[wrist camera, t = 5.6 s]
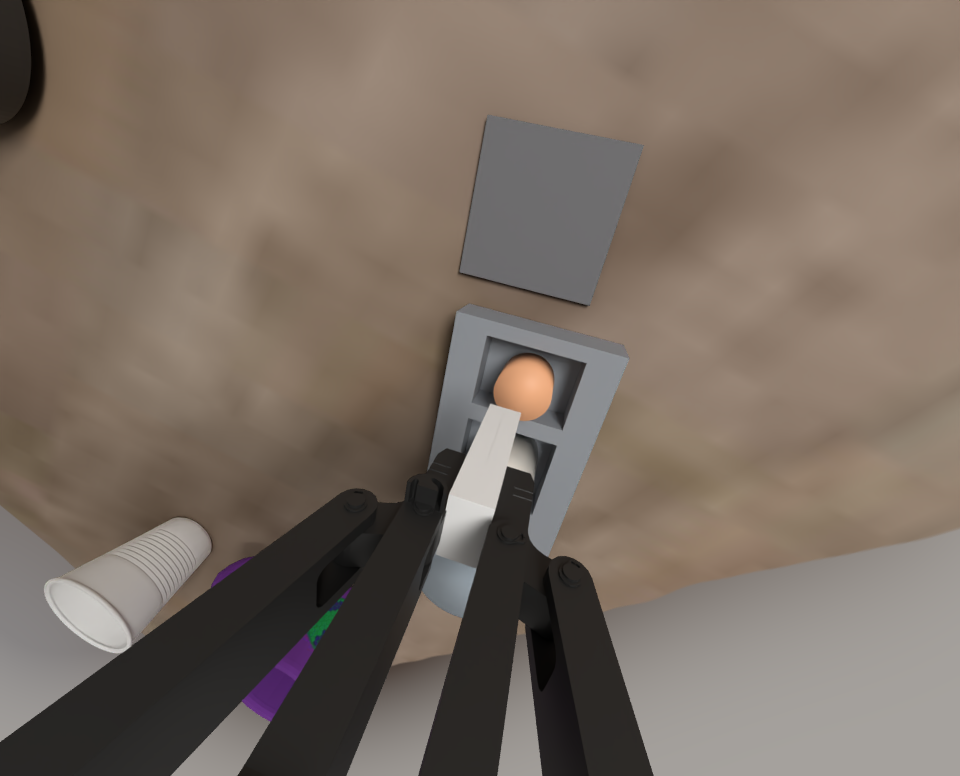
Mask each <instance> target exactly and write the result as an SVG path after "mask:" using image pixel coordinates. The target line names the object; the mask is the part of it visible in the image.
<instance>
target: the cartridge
mask: <svg viewBox="0 0 960 776" xmlns="http://www.w3.org/2000/svg"><path fill="white" fill-rule="evenodd" d="M538 454H539V453H538V446H537V443H536V441H535V439H534V438H531V437H527V436H524V435H521V434H518V433H516V434H515V438H514V442H513V446H512V449H511V453H510V457H509V461H508V464H507V466H508V467H511V468H514V469H518V470H521V471H524V472H527V473H530V474H531V475H532V478H533V480H534V478H535V472H536V467H537V461H538ZM436 551H437V550H436ZM475 573H476V568H473V567H470V566H467V565H464V564H461V563H458V562H456V561H453V560H450V559H447V558H444V557H441V556H438V555H436V552H435V555H434V557H433V560H432V565H431V569H430V572H429V574H428V576H427V579H426V581H425V584H424V586H423V589H422V591H423V593H424V594H425V595H426V596H427V597H428V598H429V599H430V600H431V601H432V602H433V603H434V604H435V605H437V606H438V607H439V608H441V609H443V610H444V611H446V612H448V613H450V614H452V615H455V616H457V617H460V618H463V615H464V611H465V607H466V604H467V600H468V596H469V593H470V589H471V586H472V583H473V579H474V576H475Z"/></svg>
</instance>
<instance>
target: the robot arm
mask: <svg viewBox="0 0 960 776" xmlns="http://www.w3.org/2000/svg"><path fill="white" fill-rule="evenodd" d="M30 75H31V49H30V39H29V32H28V26H27V21H26V16H25V12H24V8H23V4H22V1H21V0H0V124H2V123H5V122H6V121H8V120H10V119H11V118H13V117H14V116H15V115H16V114H17V112H18V111H19V110H20V108H21V107H22V105H23V103H24V101H25V98H26V95H27V92H28V88H29V83H30ZM520 416H521V413H520V412H517V411H513V410H510V409H507V408H503V407H500V406H496V405H493V404H490V406H489V408H488V410H487V412H486V415H485V417H484V419H483V421H482V423H481V425H480V428H479V430H478V432H477V434H476V436H475V439H474V441H473V443H472V445H471V447H470V449H469V452H468V454H464V453H461V452H457V451H454V450H451V449H448V448H446V449H445V450H443V451H441V452H440V453H438V454H437V456H436V458H435V459H434V461H433V463H432V464H431V466H430V468H429V470H428V471H427V473H426V474H418V475H416V476H413V477H411V478H410V479H409V480H408V481H407V487H406V493H405V500H404V501H402V502H398V503H381V502H378V501H377V498H376V496H375V495H374V494H373V493H371V492H370V491H367V490H365V489H350V490H346V491H344V492H342V493H341V494H339V495H338V496H336V497H335V498H334V499H332V500H331V501H329V502H328V503H327V504H325V505H324V506H323V507H321V508H320V509H318V510H317V511H316V512H314V513H313V514H312V515H310V516H309V517H308V518H306V519H305V520H303V521H302V522H301V523H299V524H298V525H297V526H295V527H294V528H292V529H291V530H290V531H288V532H287V533H286V534H284V535H283V536H282V537H280V538H279V539H277V540H276V541H275V542H273V543H272V544H271V545H269V546H268V547H266V548H265V549H264V550H262V551H261V552H260V553H258V554H257V555H256V556H254V557H253V558H251V559H250V560H249V561H247V562H246V563H245V564H243V565H242V566H240V567H239V568H238V569H236V570H235V571H234V572H232V573H231V574H230V575H228V576H227V577H225V578H224V579H223V580H221V581H220V582H219V583H217V584H216V585H214V586H213V587H212V588H210V589H209V590H208V591H206V592H205V593H204V594H202V595H201V596H199V597H198V598H197V599H195V600H194V601H193V602H191V603H190V604H188V605H187V606H186V607H184V608H183V609H182V610H180V611H179V612H178V613H176V614H175V615H173V616H172V617H171V618H169V619H168V620H167V621H165V622H164V623H162V624H161V625H160V626H158V627H157V628H156V629H154V630H153V631H152V632H150V633H149V634H147V635H146V636H145V637H143V638H142V639H141V640H139V641H138V642H137V643H135V644H134V645H132V646H131V647H130V648H128V649H127V650H126V651H124V652H123V653H121V654H120V655H119V656H117V657H116V658H115V659H113V660H112V661H110V662H109V663H108V664H106V665H105V666H104V667H102V668H101V669H100V670H98V671H97V672H95V673H94V674H93V675H91V676H90V677H89V678H87V679H86V680H84V681H83V682H82V683H81V684H79V685H78V686H76V687H75V688H74V689H72V690H71V691H69V692H68V693H67V694H65V695H64V696H63V697H61V698H60V699H58V700H57V701H56V702H54V703H53V704H52V705H50V706H49V707H48V708H46V709H45V710H43V711H42V712H41V713H39V714H38V715H37V716H35V717H34V718H32V719H31V720H30V721H29V722H27V723H26V724H24V725H23V726H22V727H20V728H19V729H17V730H16V731H15V732H13V733H12V734H11V735H9V736H8V737H6V738H5V739H4V740H2V741H1V742H0V776H171V775H172V774H173V773H174V771H175V770H176V769H177V768H178V767H179V766H180V765H181V764H182V763H183V762H184V761H185V760H186V759H187V758H188V757H189V756H190V755H191V754H192V752H194V751H195V749H196V748H197V747H198V746H199V745H200V744H201V743H202V742H203V741H204V740H205V739H206V738H207V737H208V736H209V735H210V734H211V733H212V732H213V731H214V730H215V729H216V728H217V726H218V725H219V724H220V723H221V722H222V721H223V720H224V719H225V718H226V717H227V716H228V715H229V714H230V713H231V712H232V711H233V710H234V709H235V708H236V707H237V706H238V704H239V703H240V702H241V701H242V700H243V699H244V698H245V697H246V696H247V695H248V694H249V693H250V692H251V691H252V690H253V689H254V688H255V687H256V686H257V685H258V684H259V683H260V682H261V680H262V679H263V678H264V677H265V676H266V675H267V674H268V673H269V672H270V671H271V670H272V669H273V668H274V667H275V666H276V665H277V664H278V663H279V662H280V661H281V660H282V658H283V657H284V656H285V655H286V654H287V653H288V652H289V651H290V650H291V649H292V648H293V647H294V646H295V645H296V644H297V643H298V642H299V641H300V640H301V639H302V638H303V637H304V635H305V634H306V633H307V632H308V631H309V630H310V629H311V628H312V627H313V626H314V625H315V624H316V623H317V622H318V621H319V620H320V619H321V618H322V617H323V616H324V615H325V614H326V612H327V611H328V610H329V609H330V608H331V607H332V606H333V605H334V604H335V603H336V602H337V601H338V600H339V599H340V598H341V597H342V596H343V595H344V594H345V593H346V592H347V591H348V589H349V588H350V587H351V586H352V585H353V584H354V585H353V587H352V588H351V590H350V591H349V593H348V595H347V596H346V598H345V600H344V601H343V603H342V605H341V606H340V608H339V610H338V611H337V613H336V615H335V616H334V618H333V620H332V621H331V623H330V625H329V626H328V628H327V629H326V631H325V633H324V634H323V636H322V638H321V639H320V641H319V643H318V644H317V646H316V648H315V649H314V651H313V653H312V654H311V656H310V658H309V659H308V661H307V662H306V664H305V666H304V667H303V669H302V671H301V672H300V674H299V676H298V677H297V679H296V681H295V682H294V684H293V686H292V687H291V689H290V691H289V692H288V694H287V696H286V697H285V699H284V700H283V702H282V704H281V705H280V707H279V709H278V710H277V712H276V714H275V715H274V717H273V719H272V720H271V722H270V724H269V725H268V727H267V729H266V730H265V732H264V734H263V735H262V737H261V739H260V740H259V742H258V743H257V745H256V747H255V748H254V750H253V752H252V754H251V755H250V757H249V758H248V760H247V762H246V763H245V765H244V767H243V768H242V770H241V771H240V773H239V774H238V776H346V775H347V773H348V770H349V768H350V765H351V763H352V760H353V758H354V755H355V753H356V751H357V748H358V746H359V743H360V741H361V738H362V736H363V733H364V731H365V729H366V726H367V724H368V721H369V719H370V716H371V714H372V711H373V709H374V706H375V704H376V701H377V699H378V697H379V694H380V692H381V689H382V687H383V684H384V682H385V679H386V677H387V674H388V672H389V669H390V667H391V665H392V662H393V660H394V657H395V655H396V652H397V650H398V648H399V645H400V643H401V640H402V638H403V635H404V633H405V630H406V628H407V626H408V623H409V621H410V618H411V616H412V613H413V611H414V608H415V606H416V603H417V601H418V599H419V596H420V594H421V591H422V589H423V586H424V584H425V581H426V579H427V576H428V574H429V572H430V569H431V565H432V560H433V557H434V555H435V552H436V555H438V556H441V557H444V558H447V559H450V560H453V561H456V562H458V563H461V564H464V565H467V566H470V567H473V568H476V573H475V576H474V579H473V583H472V586H471V589H470V593H469V596H468V600H467V604H466V607H465V611H464V615H463V618H462V622H461V625H460V629H459V632H458V636H457V640H456V643H455V647H454V650H453V654H452V657H451V661H450V665H449V668H448V672H447V675H446V679H445V682H444V686H443V689H442V693H441V697H440V700H439V704H438V707H437V711H436V714H435V718H434V722H433V725H432V729H431V732H430V736H429V739H428V743H427V746H426V750H425V754H424V757H423V761H422V764H421V768H420V771H419V775H418V776H497V772H498V766H499V759H500V752H501V744H502V737H503V730H504V722H505V715H506V707H507V700H508V693H509V686H510V678H511V671H512V663H513V656H514V649H515V642H516V634H517V627H518V620H521V621H522V622H523V623H525V630H526V639H527V647H528V656H529V665H530V673H531V682H532V690H533V699H534V707H535V716H536V725H537V733H538V741H539V749H540V758H541V767H542V776H653V772H652V769H651V766H650V763H649V759H648V756H647V753H646V750H645V747H644V743H643V740H642V737H641V734H640V731H639V727H638V724H637V721H636V718H635V715H634V711H633V708H632V705H631V702H630V698H629V695H628V692H627V689H626V686H625V682H624V679H623V676H622V673H621V670H620V666H619V663H618V660H617V657H616V654H615V650H614V647H613V644H612V641H611V638H610V635H609V631H608V628H607V625H606V622H605V618H604V615H603V612H602V609H601V605H600V602H599V599H598V596H597V593H596V589H595V586H594V583H593V580H592V577H591V575H590V573H589V571H588V570H587V569H586V568H585V567H584V566H583V565H582V564H581V563H580V562H578V561H577V560H575V559H573V558H570V557H567V556H558V557H556V558H554V559H550V558H549V557H547V556H546V555H544V554H543V553H541V552H540V551H539V550H537V548H536V547H535V546H534V545H533V544H532V542H531V540H530V538H529V535H528V527H529V520H530V513H531V506H532V499H533V492H534V485H535V483H534V480H533V478H532V475H531V474H530V473H527V472H524V471H521V470H518V469H514V468H511V467H508V466H507V464H508V461H509V457H510V453H511V449H512V446H513V442H514V438H515V434H516V431H517V427H518V423H519V420H520ZM436 550H437V551H436Z"/></svg>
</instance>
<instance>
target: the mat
mask: <svg viewBox="0 0 960 776" xmlns="http://www.w3.org/2000/svg"><path fill="white" fill-rule="evenodd" d="M643 146H644V145H640V144H635V143H630V142H625V141H620V140H615V139H609V138H604V137H599V136H594V135H589V134H584V133H579V132H574V131H569V130H563V129H558V128H553V127H548V126H543V125H538V124H533V123H528V122H522V121H517V120H512V119H507V118H502V117H497V116H492V115H488V116H487V121H486V127H485V132H484V138H483V143H482V149H481V155H480V160H479V166H478V171H477V177H476V182H475V188H474V194H473V199H472V205H471V210H470V216H469V221H468V227H467V233H466V238H465V244H464V249H463V255H462V260H461V266H460V272H461V273H465V274H469V275H472V276H476V277H480V278H484V279H488V280H492V281H496V282H500V283H504V284H507V285H511V286H515V287H519V288H523V289H527V290H531V291H535V292H539V293H542V294H546V295H550V296H554V297H558V298H562V299H566V300H570V301H574V302H577V303H581V304H585V305H589V306H590V303H591V300H592V297H593V294H594V291H595V288H596V285H597V282H598V279H599V276H600V273H601V270H602V268H603V265H604V262H605V259H606V256H607V253H608V250H609V247H610V244H611V241H612V238H613V235H614V232H615V229H616V226H617V223H618V220H619V217H620V214H621V211H622V208H623V206H624V203H625V200H626V197H627V194H628V191H629V188H630V185H631V182H632V179H633V176H634V173H635V170H636V167H637V164H638V161H639V158H640V155H641V152H642V149H643Z"/></svg>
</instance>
